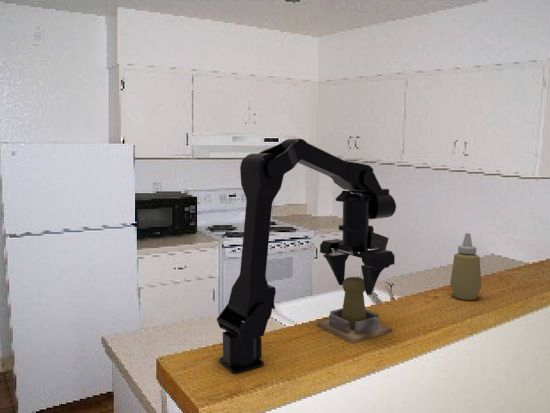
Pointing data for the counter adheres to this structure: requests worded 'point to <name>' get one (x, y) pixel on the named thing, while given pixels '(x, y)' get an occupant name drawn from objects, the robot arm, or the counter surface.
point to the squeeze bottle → (466, 271)
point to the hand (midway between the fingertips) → (354, 289)
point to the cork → (353, 301)
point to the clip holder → (362, 328)
